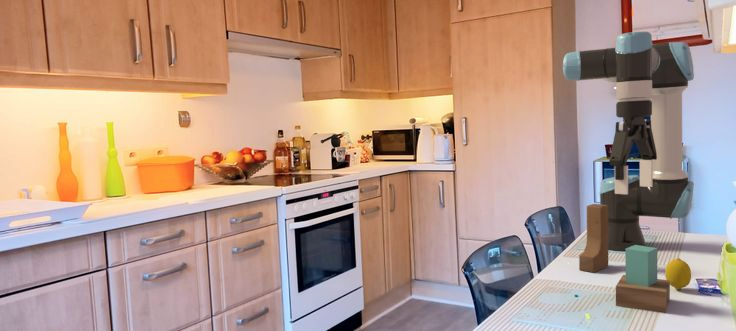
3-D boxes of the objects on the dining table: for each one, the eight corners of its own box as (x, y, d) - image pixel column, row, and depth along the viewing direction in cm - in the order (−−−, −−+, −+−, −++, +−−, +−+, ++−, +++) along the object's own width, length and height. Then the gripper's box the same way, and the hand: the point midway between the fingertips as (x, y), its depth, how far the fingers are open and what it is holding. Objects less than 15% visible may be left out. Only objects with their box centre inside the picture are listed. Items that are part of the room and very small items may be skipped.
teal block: (635, 277, 129) (635, 244, 129) (657, 282, 125) (657, 248, 125) (625, 282, 126) (625, 248, 125) (647, 287, 122) (647, 252, 122)
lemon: (660, 288, 135) (660, 257, 134) (676, 285, 137) (676, 254, 136) (679, 294, 130) (680, 262, 129) (696, 291, 132) (696, 259, 131)
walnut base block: (623, 294, 132) (623, 274, 132) (669, 301, 127) (669, 280, 126) (615, 307, 124) (615, 285, 124) (665, 314, 119) (665, 292, 118)
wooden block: (594, 273, 150) (593, 209, 149) (578, 270, 154) (578, 207, 152) (608, 266, 156) (608, 204, 155) (593, 264, 160) (593, 203, 158)
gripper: (639, 99, 138) (640, 182, 140) (592, 102, 121) (593, 195, 123) (671, 98, 132) (671, 184, 134) (626, 100, 116) (627, 198, 118)
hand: (634, 190), depth 129 cm, fingers open, 13 cm apart
